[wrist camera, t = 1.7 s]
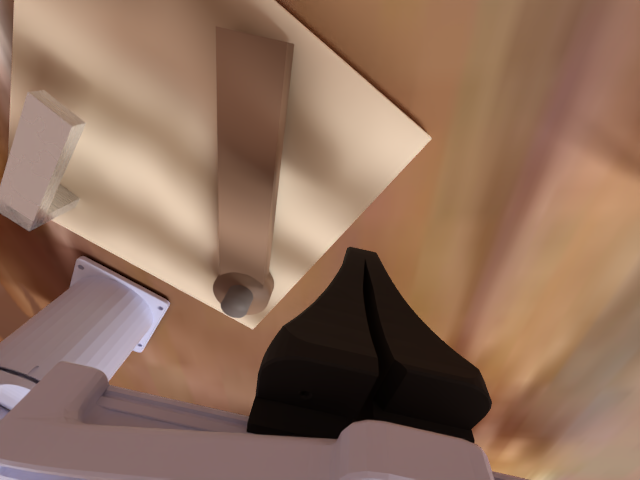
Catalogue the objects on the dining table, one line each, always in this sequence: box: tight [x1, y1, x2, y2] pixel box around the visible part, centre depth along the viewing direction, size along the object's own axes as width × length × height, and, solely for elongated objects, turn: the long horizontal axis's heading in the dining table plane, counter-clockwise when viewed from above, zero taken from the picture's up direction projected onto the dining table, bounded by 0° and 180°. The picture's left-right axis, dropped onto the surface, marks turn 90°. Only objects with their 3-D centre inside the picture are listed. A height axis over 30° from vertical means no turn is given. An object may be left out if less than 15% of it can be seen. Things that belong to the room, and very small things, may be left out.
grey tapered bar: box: [213, 26, 294, 318], centre depth 16 cm, size 17×4×3 cm, turn 169°
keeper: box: [0, 90, 86, 231], centre depth 16 cm, size 8×2×3 cm, turn 135°
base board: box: [8, 0, 432, 329], centre depth 18 cm, size 20×20×1 cm
